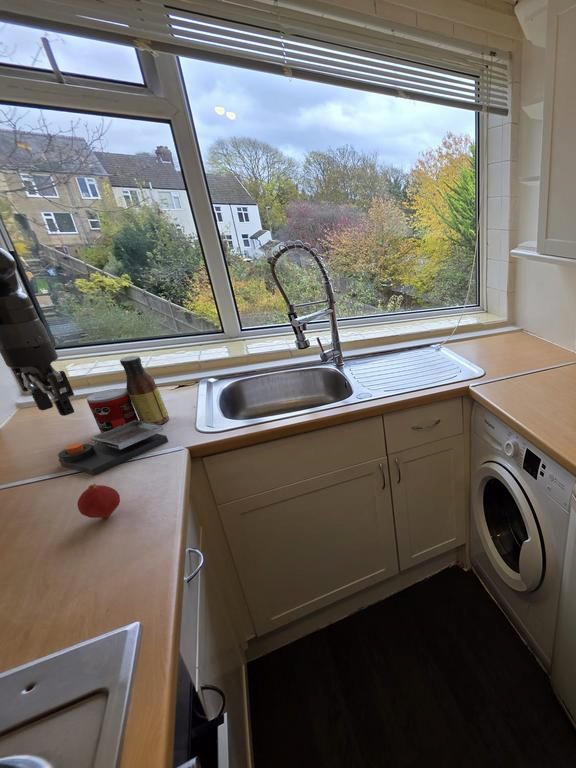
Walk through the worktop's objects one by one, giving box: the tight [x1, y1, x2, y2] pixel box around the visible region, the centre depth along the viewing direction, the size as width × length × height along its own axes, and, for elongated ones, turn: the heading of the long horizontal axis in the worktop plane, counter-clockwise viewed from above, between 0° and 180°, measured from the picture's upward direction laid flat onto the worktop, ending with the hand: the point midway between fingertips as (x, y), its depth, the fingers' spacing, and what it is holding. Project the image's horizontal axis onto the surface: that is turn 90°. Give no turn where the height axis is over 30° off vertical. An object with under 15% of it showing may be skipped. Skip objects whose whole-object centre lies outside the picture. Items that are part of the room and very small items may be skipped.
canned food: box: [86, 388, 139, 434], centre depth 109 cm, size 8×8×11 cm
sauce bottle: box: [119, 355, 170, 425], centre depth 112 cm, size 7×6×20 cm
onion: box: [77, 483, 121, 519], centre depth 79 cm, size 6×6×8 cm
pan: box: [89, 419, 165, 450], centre depth 102 cm, size 10×10×1 cm
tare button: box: [64, 442, 84, 454], centre depth 96 cm, size 3×3×2 cm
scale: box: [57, 433, 169, 477], centre depth 100 cm, size 16×12×4 cm
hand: (57, 411), depth 92 cm, fingers open, 7 cm apart
